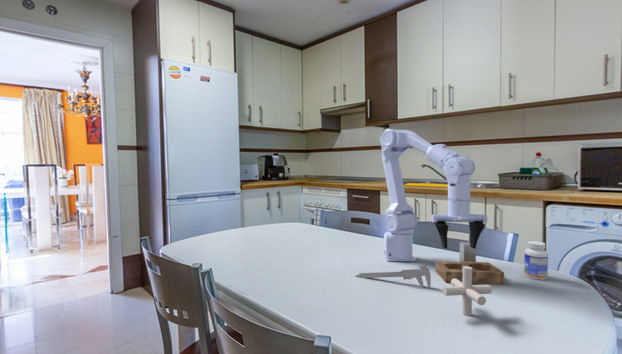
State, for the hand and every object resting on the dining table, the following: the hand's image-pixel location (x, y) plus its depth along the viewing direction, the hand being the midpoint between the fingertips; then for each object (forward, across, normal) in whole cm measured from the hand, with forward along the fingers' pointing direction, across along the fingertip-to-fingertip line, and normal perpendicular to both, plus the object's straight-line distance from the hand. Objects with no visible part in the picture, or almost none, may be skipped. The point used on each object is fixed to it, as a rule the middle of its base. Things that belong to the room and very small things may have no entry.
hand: (458, 247), depth 89 cm
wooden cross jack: (+9, -6, -22) cm, 25 cm away
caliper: (+9, -20, -4) cm, 22 cm away
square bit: (+8, +6, +11) cm, 15 cm away
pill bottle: (+9, +22, +2) cm, 23 cm away
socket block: (+8, +2, 0) cm, 9 cm away
